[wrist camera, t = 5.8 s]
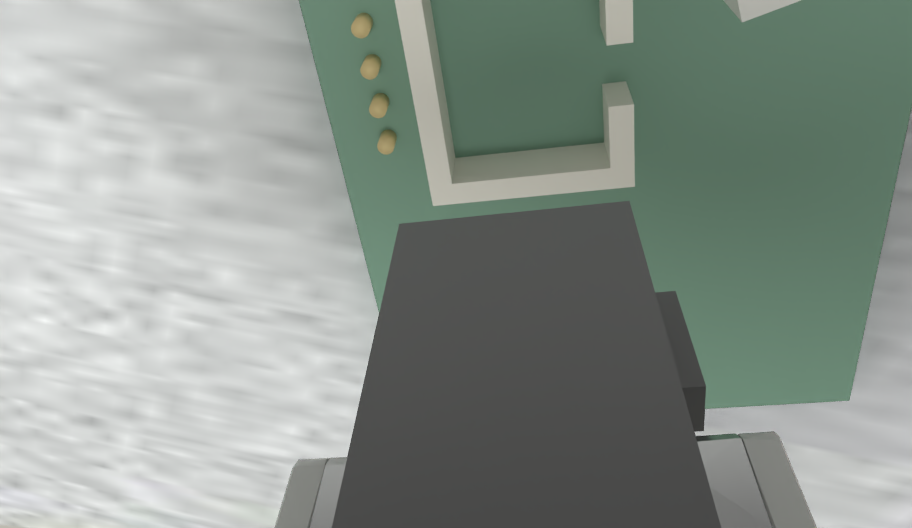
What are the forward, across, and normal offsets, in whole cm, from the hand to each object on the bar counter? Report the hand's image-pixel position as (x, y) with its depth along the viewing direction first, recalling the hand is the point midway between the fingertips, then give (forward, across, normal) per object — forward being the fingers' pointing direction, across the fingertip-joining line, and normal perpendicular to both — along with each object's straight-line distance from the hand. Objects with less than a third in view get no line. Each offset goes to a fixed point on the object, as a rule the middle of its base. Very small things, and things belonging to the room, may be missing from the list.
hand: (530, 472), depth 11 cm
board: (+18, -3, +4) cm, 19 cm away
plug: (+4, 0, 0) cm, 4 cm away
